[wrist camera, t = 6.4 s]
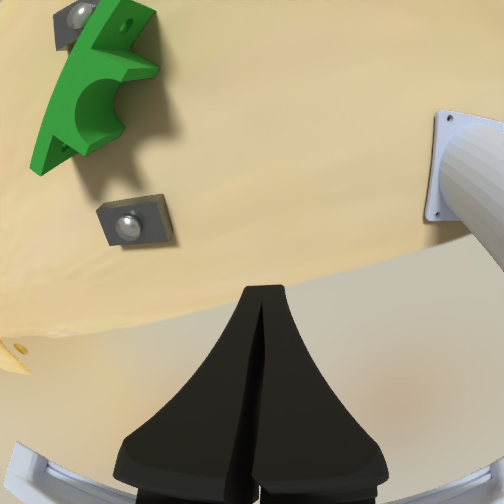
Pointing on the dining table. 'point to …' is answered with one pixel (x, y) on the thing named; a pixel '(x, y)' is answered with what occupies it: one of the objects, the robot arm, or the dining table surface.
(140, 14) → the pipe clamp
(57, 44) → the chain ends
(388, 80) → the dining table surface
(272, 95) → the dining table surface
